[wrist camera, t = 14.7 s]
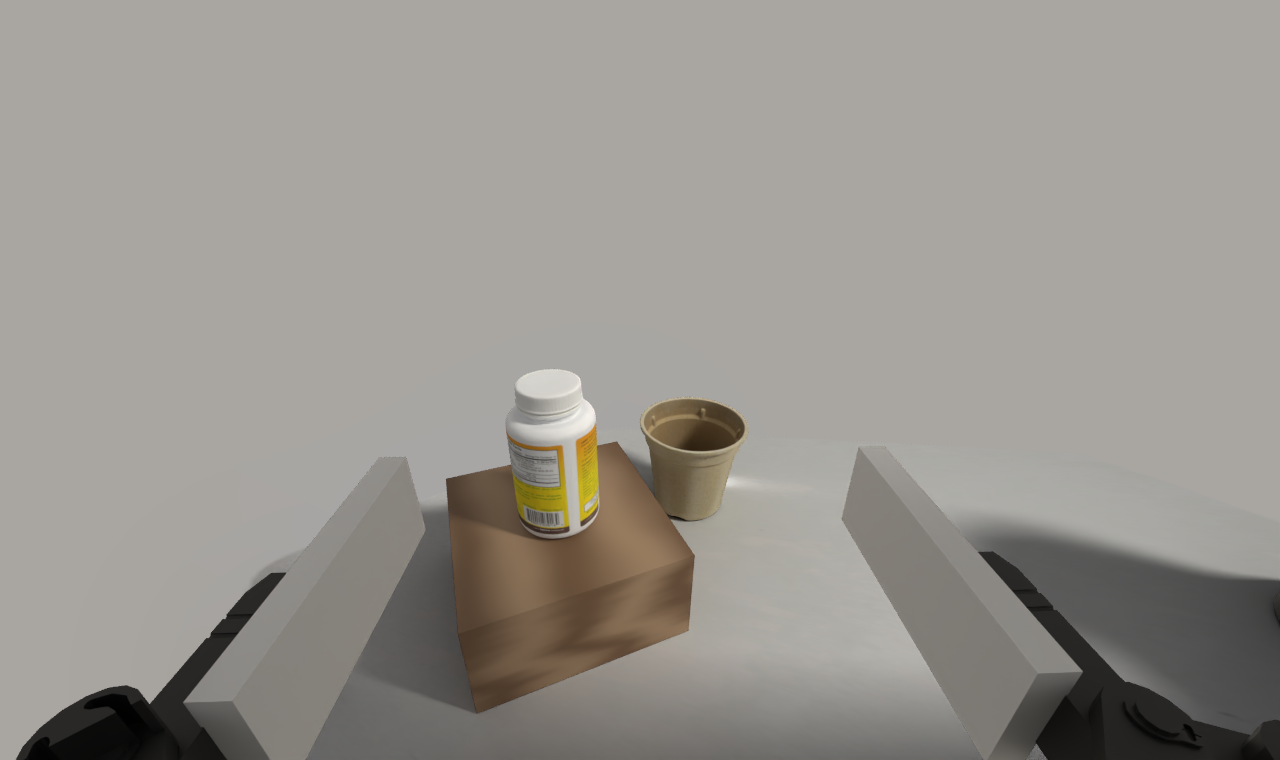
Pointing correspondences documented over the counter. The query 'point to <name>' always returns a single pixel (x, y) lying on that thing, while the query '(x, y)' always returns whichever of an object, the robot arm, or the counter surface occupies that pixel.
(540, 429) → the supplement bottle
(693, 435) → the flower pot
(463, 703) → the counter surface
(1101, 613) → the counter surface
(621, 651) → the block
